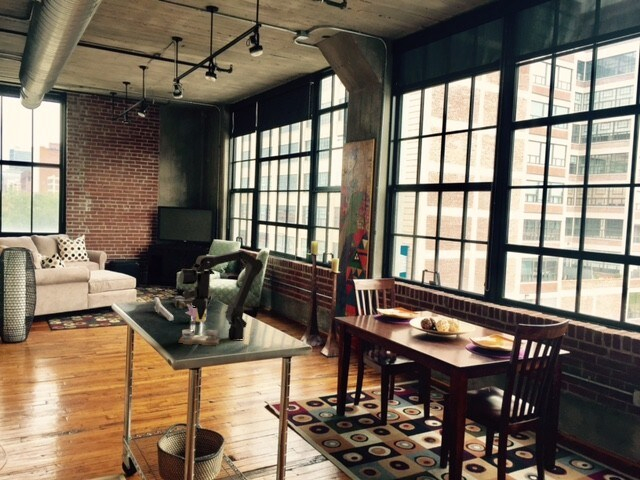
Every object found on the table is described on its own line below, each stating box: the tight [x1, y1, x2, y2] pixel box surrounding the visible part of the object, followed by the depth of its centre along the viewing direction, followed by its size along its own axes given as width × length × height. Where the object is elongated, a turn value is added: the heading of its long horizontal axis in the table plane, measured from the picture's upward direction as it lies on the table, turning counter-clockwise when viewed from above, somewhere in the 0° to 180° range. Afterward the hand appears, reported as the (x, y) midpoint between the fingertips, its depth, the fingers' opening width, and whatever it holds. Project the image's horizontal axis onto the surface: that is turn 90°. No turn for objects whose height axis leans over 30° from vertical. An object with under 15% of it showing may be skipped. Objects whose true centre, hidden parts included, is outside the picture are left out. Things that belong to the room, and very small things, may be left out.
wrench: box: [153, 296, 174, 322], centre depth 296 cm, size 8×2×30 cm
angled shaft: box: [181, 328, 195, 340], centre depth 243 cm, size 5×3×4 cm, turn 122°
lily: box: [185, 304, 208, 325], centre depth 282 cm, size 12×12×10 cm
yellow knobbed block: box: [195, 308, 208, 323], centre depth 244 cm, size 4×5×5 cm
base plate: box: [177, 329, 222, 346], centre depth 244 cm, size 17×11×6 cm, turn 92°
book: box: [173, 295, 195, 309], centre depth 328 cm, size 15×25×5 cm, turn 19°
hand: (201, 318), depth 244 cm, fingers closed on yellow knobbed block, 5 cm apart
